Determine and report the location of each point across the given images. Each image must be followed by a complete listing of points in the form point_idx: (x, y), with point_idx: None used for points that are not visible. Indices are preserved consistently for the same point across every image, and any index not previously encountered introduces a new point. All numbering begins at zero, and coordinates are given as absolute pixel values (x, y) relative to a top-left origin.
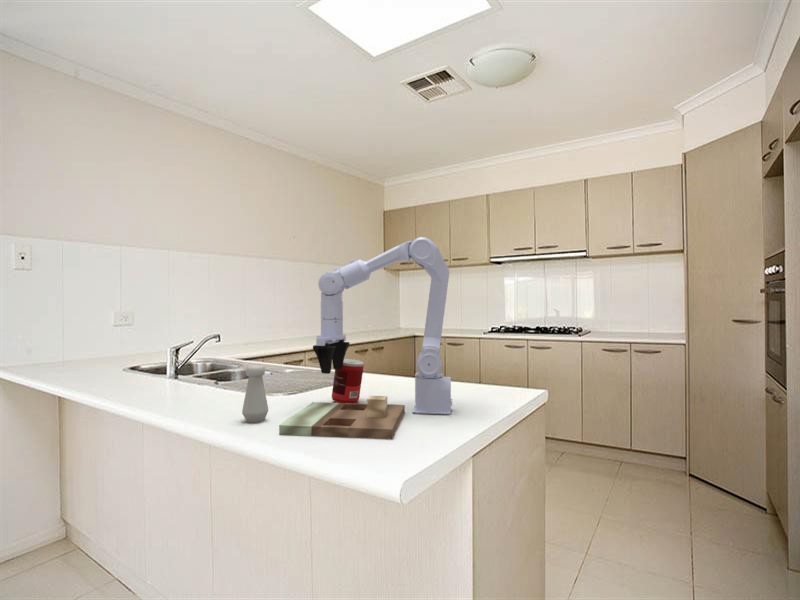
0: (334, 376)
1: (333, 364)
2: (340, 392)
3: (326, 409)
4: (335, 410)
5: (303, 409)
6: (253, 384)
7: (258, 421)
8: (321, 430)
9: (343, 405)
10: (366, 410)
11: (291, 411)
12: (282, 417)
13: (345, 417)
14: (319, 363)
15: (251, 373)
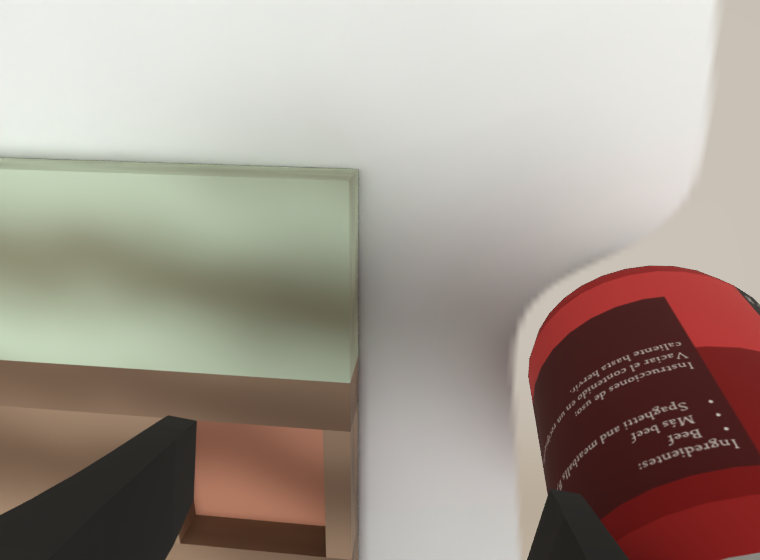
0: (676, 396)
1: (564, 531)
2: (541, 385)
3: (143, 340)
4: (133, 399)
5: (98, 183)
6: None
7: None
8: None
9: (276, 423)
10: (180, 555)
11: (288, 6)
12: (102, 6)
13: (2, 474)
14: (66, 480)
15: None
